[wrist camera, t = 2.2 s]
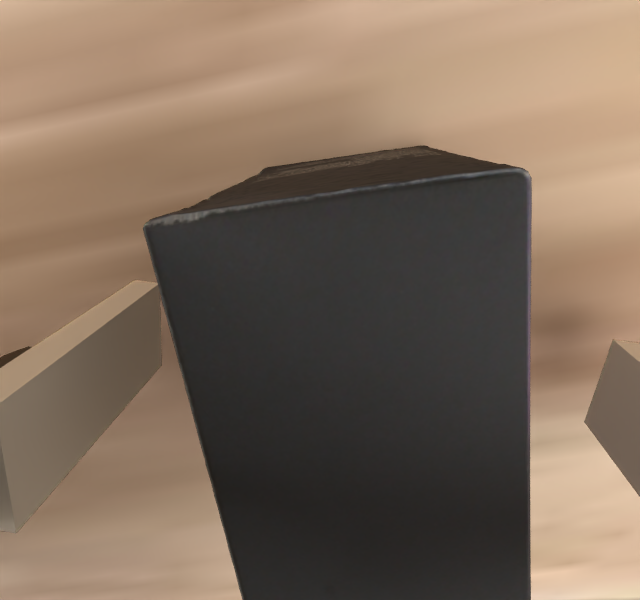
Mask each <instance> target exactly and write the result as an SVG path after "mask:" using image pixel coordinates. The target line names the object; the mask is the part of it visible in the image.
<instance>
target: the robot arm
mask: <svg viewBox="0 0 640 600" xmlns="http://www.w3.org/2000/svg"><path fill="white" fill-rule="evenodd" d="M161 365H162V355H161V312H160V291H159V287H158V283H156V282H148V281H140V280H134V281H132V282H131V283H129V284H128V285H126V286H125V287H123V288H122V289H120V290H119V291H117V292H116V293H114V294H113V295H111V296H109V297H108V298H106V299H105V300H103V301H102V302H100V303H99V304H97V305H96V306H94V307H93V308H91V309H90V310H88V311H87V312H85V313H84V314H82V315H81V316H79V317H77V318H76V319H74V320H73V321H71V322H70V323H68V324H67V325H65V326H64V327H62V328H61V329H59V330H58V331H56V332H55V333H53V334H52V335H50V336H48V337H47V338H45V339H44V340H42V341H41V342H39V343H38V344H36V345H35V346H33V347H26V348H23V349H20V350H18V351H15V352H12V353H9V354H6V355H4V356H2V357H1V358H0V531H4V532H10V533H17V532H18V531H19V530H20V529H21V527H22V526H23V525H24V524H25V523H26V522H27V521H28V519H29V518H30V517H31V516H32V515H33V514H34V512H35V511H36V510H37V509H38V508H39V507H40V505H41V504H42V503H43V502H44V501H45V500H46V499H47V497H48V496H49V495H50V494H51V493H52V492H53V490H54V489H55V488H56V487H57V486H58V485H59V483H60V482H61V481H62V480H63V479H64V478H65V477H66V475H67V474H68V473H69V472H70V471H71V470H72V468H73V467H74V466H75V465H76V464H77V463H78V461H79V460H80V459H81V458H82V457H83V456H84V455H85V453H86V452H87V451H88V450H89V449H90V448H91V446H92V445H93V444H94V443H95V442H96V441H97V439H98V438H99V437H100V436H101V435H102V434H103V433H104V431H105V430H106V429H107V428H108V427H109V426H110V424H111V423H112V422H113V421H114V420H115V419H116V417H117V416H118V415H119V414H120V413H121V412H122V411H123V409H124V408H125V407H126V406H127V405H128V404H129V402H130V401H131V400H132V399H133V398H134V397H135V395H136V394H137V393H138V392H139V391H140V390H141V389H142V387H143V386H144V385H145V384H146V383H147V382H148V380H149V379H150V378H151V377H152V376H153V375H154V373H155V372H156V371H157V370H158V369H159V368H160V367H161ZM584 422H585V423H586V425H587V426H588V427H589V429H590V430H591V431H592V433H593V434H594V436H595V437H596V438H597V440H598V441H599V442H600V444H601V445H602V446H603V448H604V449H605V450H606V452H607V453H608V454H609V456H610V457H611V459H612V460H613V461H614V463H615V464H616V465H617V467H618V468H619V469H620V471H621V472H622V473H623V475H624V476H625V477H626V479H627V480H628V482H629V483H630V484H631V486H632V487H633V488H634V490H635V491H636V492H637V494H638V495H639V496H640V343H638V342H630V341H622V340H614V339H613V341H612V344H611V347H610V349H609V352H608V355H607V358H606V361H605V364H604V367H603V370H602V372H601V375H600V378H599V381H598V384H597V387H596V390H595V393H594V395H593V398H592V401H591V404H590V407H589V410H588V413H587V416H586V418H585V421H584Z"/></svg>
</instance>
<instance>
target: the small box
mask: <svg viewBox="0 0 640 600" xmlns="http://www.w3.org/2000/svg"><path fill="white" fill-rule="evenodd" d="M531 212H532V187H531V176H530V174H529V173H528V171H526V170H525V169H523V168H519V167H514V166H510V165H506V164H496V163H492V162H488V161H483V160H478V159H475V158H471V157H466V156H461V155H457V154H453V153H449V152H446V151H442V150H438V149H433V148H429V147H428V146H415V147H409V148H401V149H393V150H383V151H378V152H371V153H365V154H357V155H351V156H344V157H336V158H330V159H323V160H317V161H310V162H301V163H295V164H289V165H282V166H275V167H268V168H265V169H263V170H262V171H261V172H260V173H259V174H258V175H257V176H254V177H251V178H249V179H247V180H245V181H244V182H241V183H239V184H237V185H234V186H232V187H230V188H228V189H226V190H224V191H221V192H219V193H217V194H215V195H213V196H211V197H209V199H208V200H203V201H201V202H199V203H198V204H196V205H194V206H191V207H190V208H184V209H182V210H180V211H177V212H173V213H170V214H166V215H163V216H160V217H156V218H153V219H151V220H149V221H148V222H146V223H145V225H144V227H143V231H144V235H145V238H146V241H147V245H148V248H149V252H150V256H151V260H152V264H153V268H154V272H155V275H156V279H157V283H158V287H159V291H160V295H161V299H162V303H163V306H164V310H165V314H166V317H167V321H168V324H169V328H170V332H171V335H172V339H173V343H174V347H175V350H176V354H177V358H178V362H179V365H180V369H181V372H182V376H183V379H184V384H185V388H186V392H187V395H188V399H189V402H190V406H191V410H192V414H193V418H194V421H195V425H196V429H197V433H198V436H199V440H200V444H201V448H202V451H203V455H204V458H205V462H206V467H207V470H208V473H209V477H210V480H211V484H212V488H213V492H214V496H215V499H216V503H217V506H218V510H219V514H220V518H221V521H222V525H223V528H224V532H225V535H226V539H227V543H228V547H229V551H230V555H231V558H232V562H233V565H234V568H235V572H236V576H237V581H238V585H239V589H240V592H241V596H242V599H243V600H531V577H530V313H531Z"/></svg>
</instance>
